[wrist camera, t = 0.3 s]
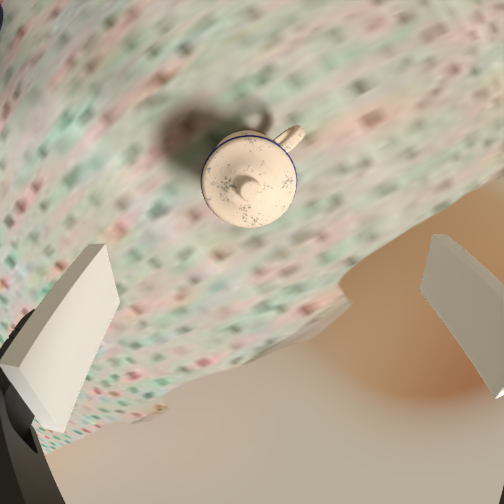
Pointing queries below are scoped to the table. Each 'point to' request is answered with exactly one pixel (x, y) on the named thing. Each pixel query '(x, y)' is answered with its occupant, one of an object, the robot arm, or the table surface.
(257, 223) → the teacup with lid
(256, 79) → the table surface
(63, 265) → the table surface
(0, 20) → the canister
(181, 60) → the table surface
